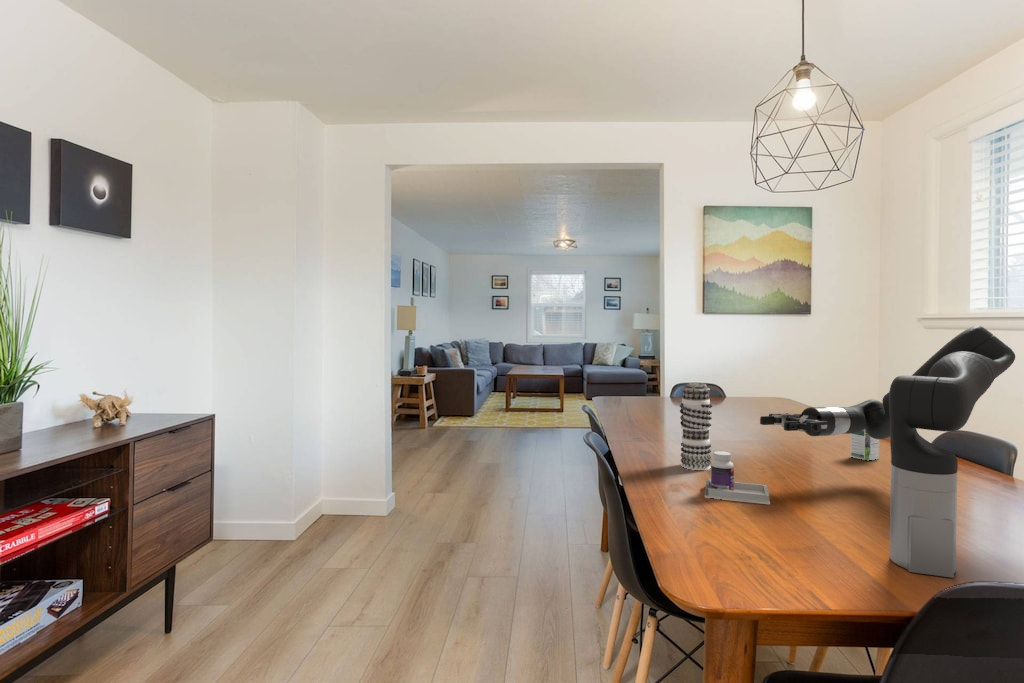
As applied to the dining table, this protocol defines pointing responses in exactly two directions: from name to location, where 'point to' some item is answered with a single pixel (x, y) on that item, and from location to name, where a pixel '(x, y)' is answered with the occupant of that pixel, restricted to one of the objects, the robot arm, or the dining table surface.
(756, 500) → the white rimmed tray
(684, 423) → the decorative candle
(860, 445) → the syrup box
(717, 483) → the pill bottle
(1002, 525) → the dining table surface
